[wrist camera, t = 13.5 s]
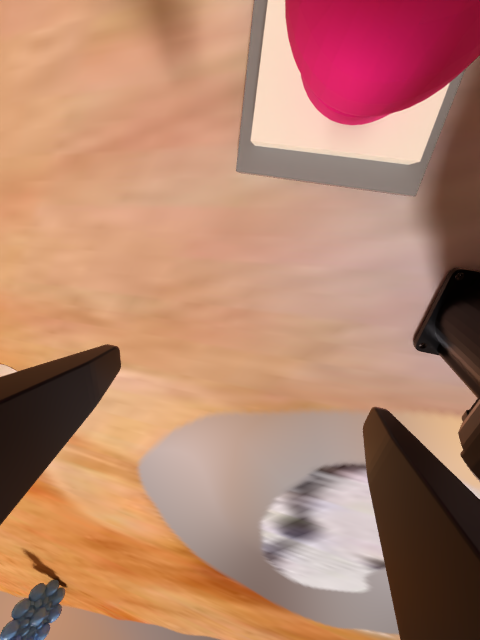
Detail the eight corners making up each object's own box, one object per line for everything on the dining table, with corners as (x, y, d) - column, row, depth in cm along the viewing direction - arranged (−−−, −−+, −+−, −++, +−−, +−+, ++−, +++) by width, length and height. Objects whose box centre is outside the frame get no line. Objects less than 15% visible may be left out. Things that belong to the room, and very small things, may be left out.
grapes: (30, 565, 61) (-26, 643, 50) (50, 567, 59) (-4, 649, 48) (58, 591, 65) (11, 668, 54) (78, 594, 63) (33, 674, 52)
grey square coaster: (408, 195, 17) (427, 196, 14) (239, 172, 18) (230, 169, 15) (525, -112, 11) (590, -200, 9) (271, -113, 12) (265, -189, 10)
